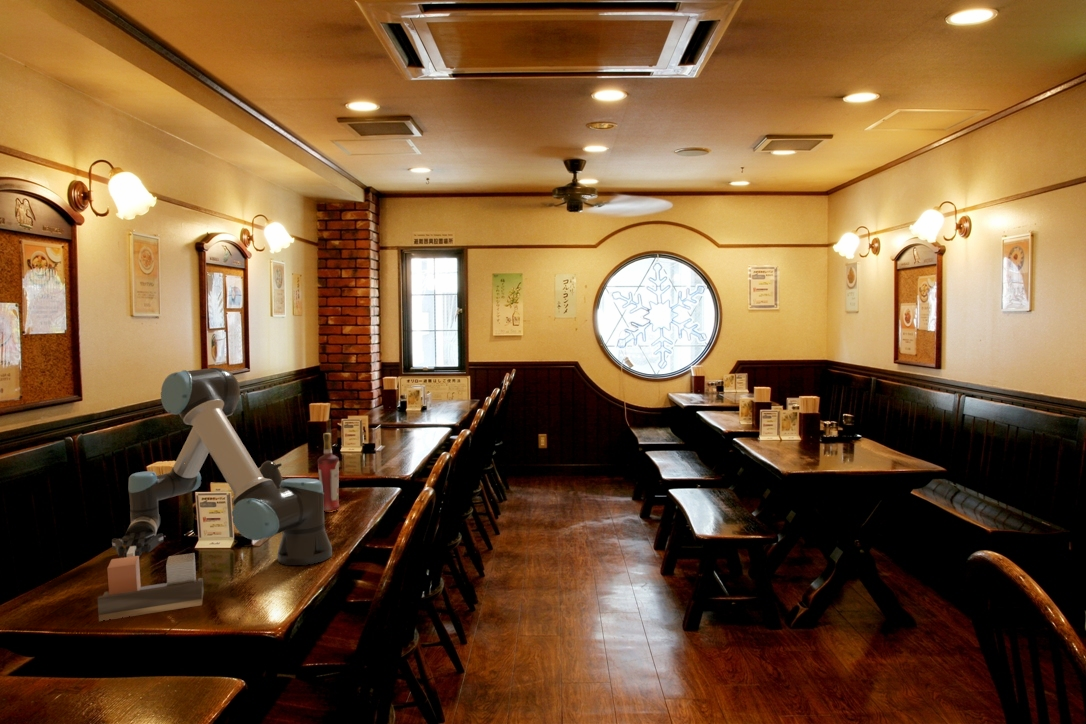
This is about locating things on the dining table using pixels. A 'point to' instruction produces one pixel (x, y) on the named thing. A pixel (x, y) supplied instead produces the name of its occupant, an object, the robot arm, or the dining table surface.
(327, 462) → the liquor
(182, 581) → the gray block
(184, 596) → the base
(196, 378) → the robot arm
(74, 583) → the dining table surface
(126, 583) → the terracotta plunger
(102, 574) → the dining table surface
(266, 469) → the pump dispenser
